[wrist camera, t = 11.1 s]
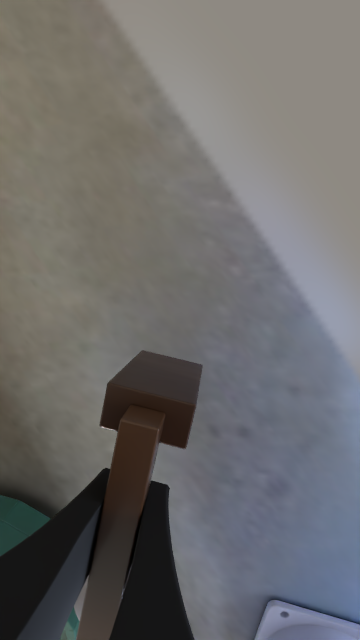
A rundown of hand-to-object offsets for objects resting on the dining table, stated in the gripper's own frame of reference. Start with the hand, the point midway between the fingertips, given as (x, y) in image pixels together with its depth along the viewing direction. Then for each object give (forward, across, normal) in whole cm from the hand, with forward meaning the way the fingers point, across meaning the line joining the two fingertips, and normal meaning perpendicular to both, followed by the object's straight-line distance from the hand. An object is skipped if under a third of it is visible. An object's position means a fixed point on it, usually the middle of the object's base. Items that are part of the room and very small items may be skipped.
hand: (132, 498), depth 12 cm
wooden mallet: (+4, 0, +3) cm, 5 cm away
